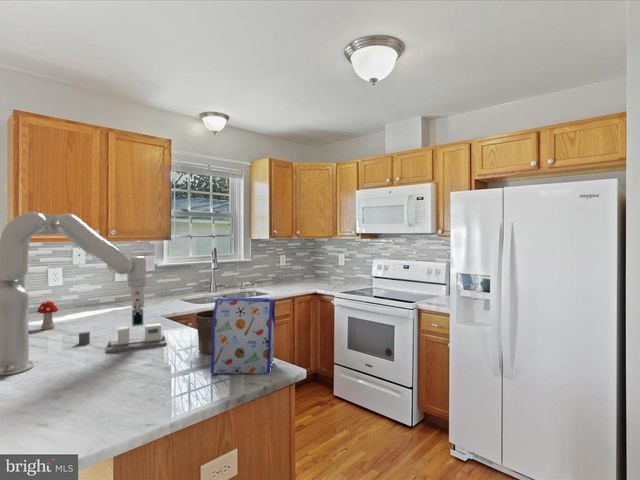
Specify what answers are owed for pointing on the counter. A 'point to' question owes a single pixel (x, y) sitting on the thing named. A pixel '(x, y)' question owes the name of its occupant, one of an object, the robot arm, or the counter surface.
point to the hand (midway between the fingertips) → (137, 321)
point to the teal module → (133, 318)
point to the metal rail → (133, 342)
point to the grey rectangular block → (84, 338)
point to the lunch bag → (243, 335)
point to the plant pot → (205, 330)
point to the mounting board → (135, 345)
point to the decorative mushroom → (47, 314)
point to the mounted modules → (150, 333)
